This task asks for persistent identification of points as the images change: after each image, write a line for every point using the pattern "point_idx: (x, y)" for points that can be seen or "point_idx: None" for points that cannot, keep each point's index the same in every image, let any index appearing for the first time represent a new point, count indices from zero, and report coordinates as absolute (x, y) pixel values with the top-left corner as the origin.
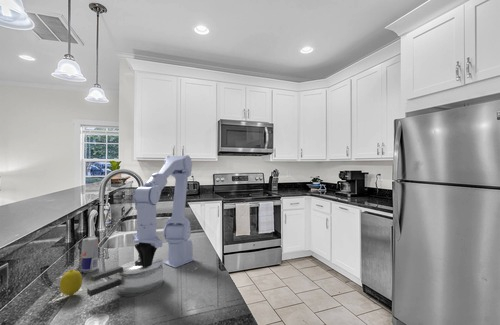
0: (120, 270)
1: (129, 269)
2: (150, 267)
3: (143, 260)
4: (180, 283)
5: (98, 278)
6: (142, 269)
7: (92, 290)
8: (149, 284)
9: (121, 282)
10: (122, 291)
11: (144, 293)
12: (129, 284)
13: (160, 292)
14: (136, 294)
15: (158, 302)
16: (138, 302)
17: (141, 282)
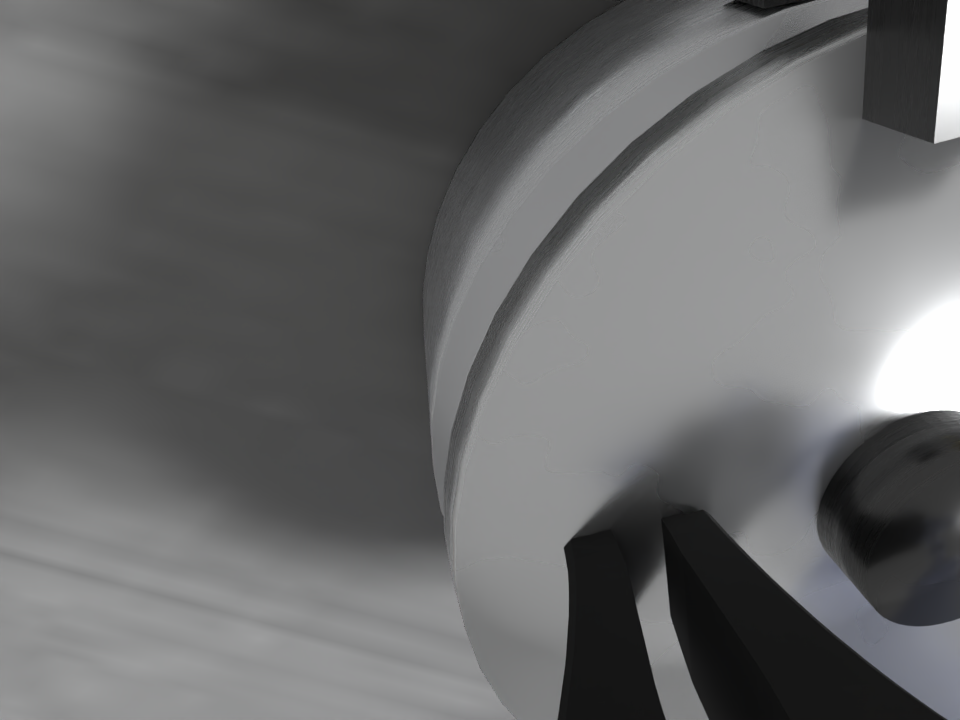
0: (893, 54)
1: (821, 265)
2: (460, 606)
3: (626, 639)
4: (395, 647)
5: None
6: (477, 474)
7: None
8: (428, 395)
9: (717, 21)
10: (641, 12)
11: (425, 277)
12: (547, 134)
13: (333, 435)
14: (459, 180)
15: (78, 344)
16: (244, 141)
17: (444, 318)
